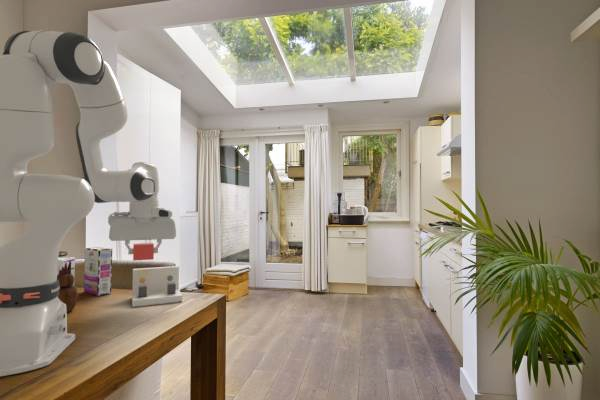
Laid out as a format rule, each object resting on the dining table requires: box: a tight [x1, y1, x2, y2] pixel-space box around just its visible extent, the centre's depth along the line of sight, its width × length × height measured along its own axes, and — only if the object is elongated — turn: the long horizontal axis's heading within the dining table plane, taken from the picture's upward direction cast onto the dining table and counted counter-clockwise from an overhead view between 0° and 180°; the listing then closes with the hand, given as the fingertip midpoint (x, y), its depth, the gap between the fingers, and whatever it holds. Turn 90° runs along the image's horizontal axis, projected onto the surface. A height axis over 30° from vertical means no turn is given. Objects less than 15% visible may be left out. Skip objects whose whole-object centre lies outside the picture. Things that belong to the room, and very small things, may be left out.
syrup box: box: [57, 256, 76, 286], centre depth 114 cm, size 6×6×14 cm
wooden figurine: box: [57, 261, 79, 313], centre depth 103 cm, size 7×6×15 cm
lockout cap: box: [132, 242, 155, 261], centre depth 114 cm, size 6×6×5 cm
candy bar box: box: [83, 246, 113, 297], centre depth 125 cm, size 11×5×16 cm, turn 55°
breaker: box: [138, 285, 147, 298], centre depth 113 cm, size 2×2×5 cm
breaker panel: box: [131, 265, 183, 308], centre depth 117 cm, size 12×15×10 cm
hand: (143, 253), depth 114 cm, fingers closed on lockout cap, 6 cm apart
